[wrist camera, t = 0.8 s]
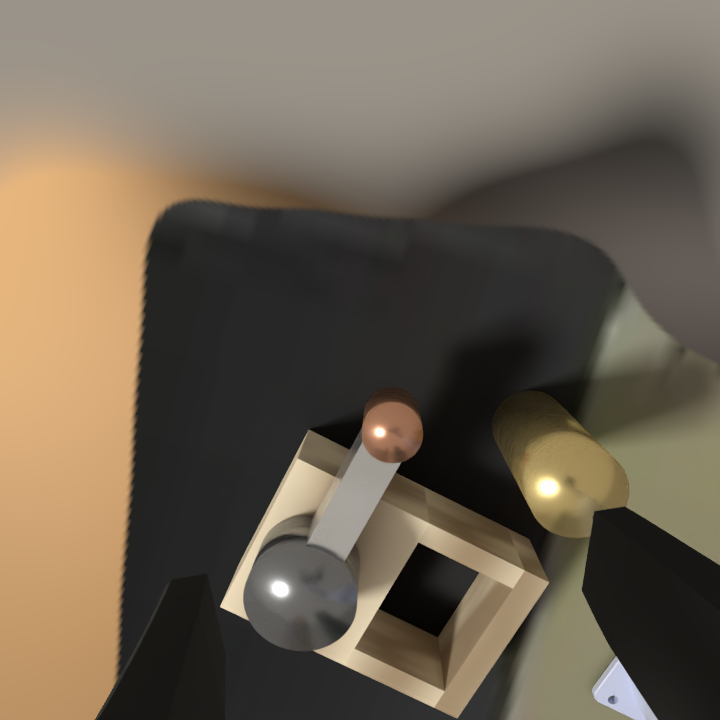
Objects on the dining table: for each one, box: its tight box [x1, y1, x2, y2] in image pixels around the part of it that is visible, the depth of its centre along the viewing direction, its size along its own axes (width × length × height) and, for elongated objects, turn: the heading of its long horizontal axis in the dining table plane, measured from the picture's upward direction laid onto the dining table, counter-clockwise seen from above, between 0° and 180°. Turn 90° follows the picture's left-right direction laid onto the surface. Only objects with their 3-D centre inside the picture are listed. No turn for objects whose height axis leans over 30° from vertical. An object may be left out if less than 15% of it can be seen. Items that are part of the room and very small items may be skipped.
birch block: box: [220, 430, 549, 718], centre depth 26 cm, size 12×8×4 cm, turn 63°
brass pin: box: [492, 390, 629, 538], centre depth 23 cm, size 3×3×7 cm
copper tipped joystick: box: [243, 387, 423, 651], centre depth 22 cm, size 4×11×3 cm, turn 153°
